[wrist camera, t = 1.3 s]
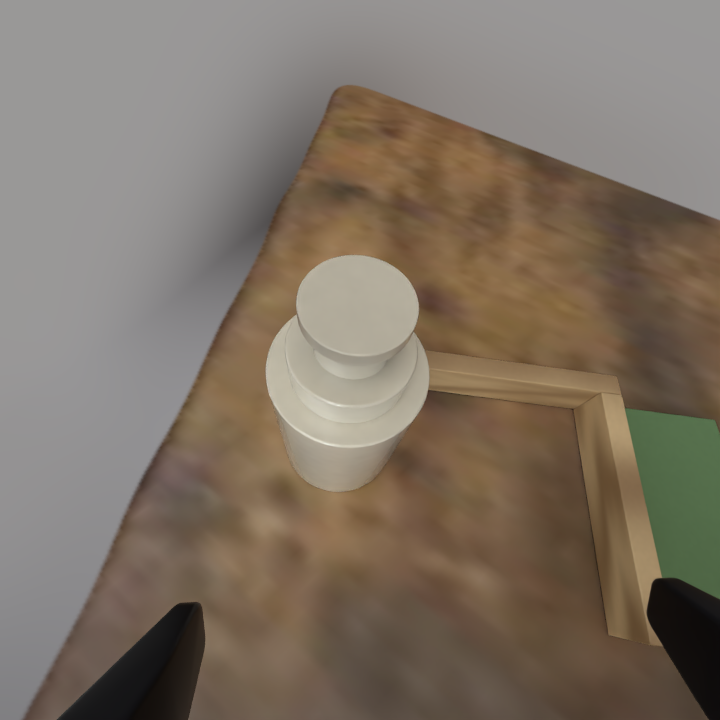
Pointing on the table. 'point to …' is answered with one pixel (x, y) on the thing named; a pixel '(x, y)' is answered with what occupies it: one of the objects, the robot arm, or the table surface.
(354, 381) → the lidded jar
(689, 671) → the robot arm
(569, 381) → the corner rails
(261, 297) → the table surface
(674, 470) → the green cloth
